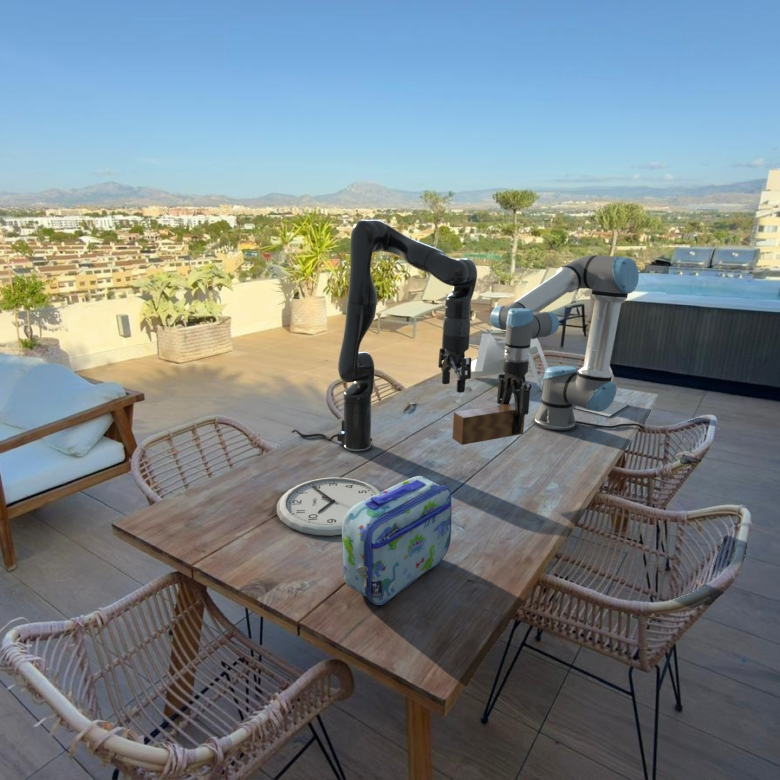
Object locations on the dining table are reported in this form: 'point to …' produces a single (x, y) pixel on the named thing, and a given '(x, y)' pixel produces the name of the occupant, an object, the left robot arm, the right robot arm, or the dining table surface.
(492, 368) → the white plastic object
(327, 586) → the dining table surface
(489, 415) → the bar
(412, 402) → the fork
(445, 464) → the dining table surface
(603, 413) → the grey rectangular panel
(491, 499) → the dining table surface
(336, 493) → the wall clock
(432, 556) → the lunch box
